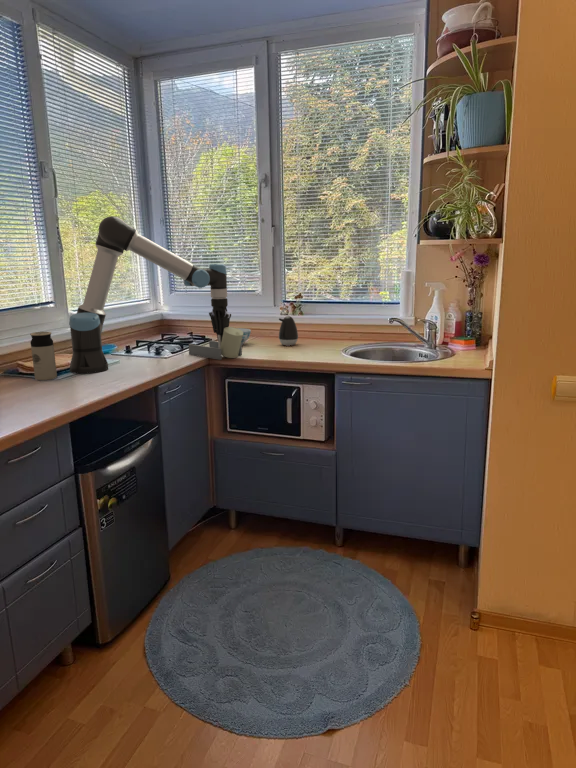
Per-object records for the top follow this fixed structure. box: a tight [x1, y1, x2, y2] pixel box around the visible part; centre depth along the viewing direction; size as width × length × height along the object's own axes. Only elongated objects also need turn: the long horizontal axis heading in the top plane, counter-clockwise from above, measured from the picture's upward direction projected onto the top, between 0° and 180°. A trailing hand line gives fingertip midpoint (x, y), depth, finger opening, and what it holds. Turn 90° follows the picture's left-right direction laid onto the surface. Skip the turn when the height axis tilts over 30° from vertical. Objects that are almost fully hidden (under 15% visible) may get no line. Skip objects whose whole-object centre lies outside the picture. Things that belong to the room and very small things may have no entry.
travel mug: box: [30, 331, 58, 382], centre depth 209 cm, size 8×8×18 cm
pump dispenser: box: [278, 315, 299, 347], centre depth 281 cm, size 10×10×15 cm
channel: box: [188, 340, 243, 361], centre depth 256 cm, size 14×22×5 cm, turn 49°
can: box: [220, 326, 243, 359], centre depth 249 cm, size 9×9×12 cm
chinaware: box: [236, 327, 252, 346], centre depth 285 cm, size 15×15×8 cm
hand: (221, 348), depth 254 cm, fingers closed
